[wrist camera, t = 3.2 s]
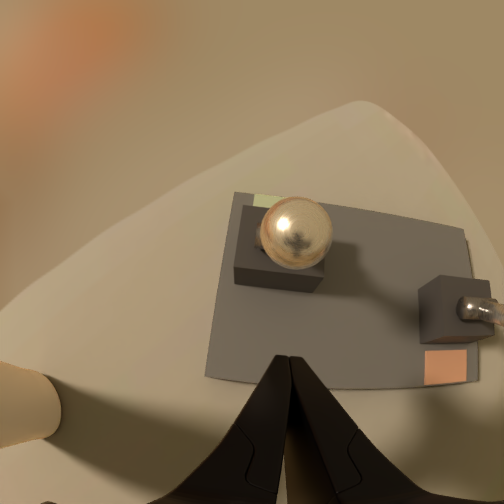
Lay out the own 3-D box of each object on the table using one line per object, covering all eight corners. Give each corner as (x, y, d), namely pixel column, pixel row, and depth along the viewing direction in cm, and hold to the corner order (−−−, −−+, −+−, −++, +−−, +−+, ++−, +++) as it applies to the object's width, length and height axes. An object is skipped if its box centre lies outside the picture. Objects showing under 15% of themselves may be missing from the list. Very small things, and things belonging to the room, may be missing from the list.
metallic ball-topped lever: (306, 265, 17) (342, 276, 9) (253, 259, 17) (249, 266, 10) (311, 219, 17) (350, 197, 9) (258, 212, 17) (259, 184, 10)
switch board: (466, 382, 18) (503, 376, 14) (207, 376, 18) (197, 375, 14) (454, 236, 23) (482, 211, 19) (234, 203, 24) (233, 165, 19)
